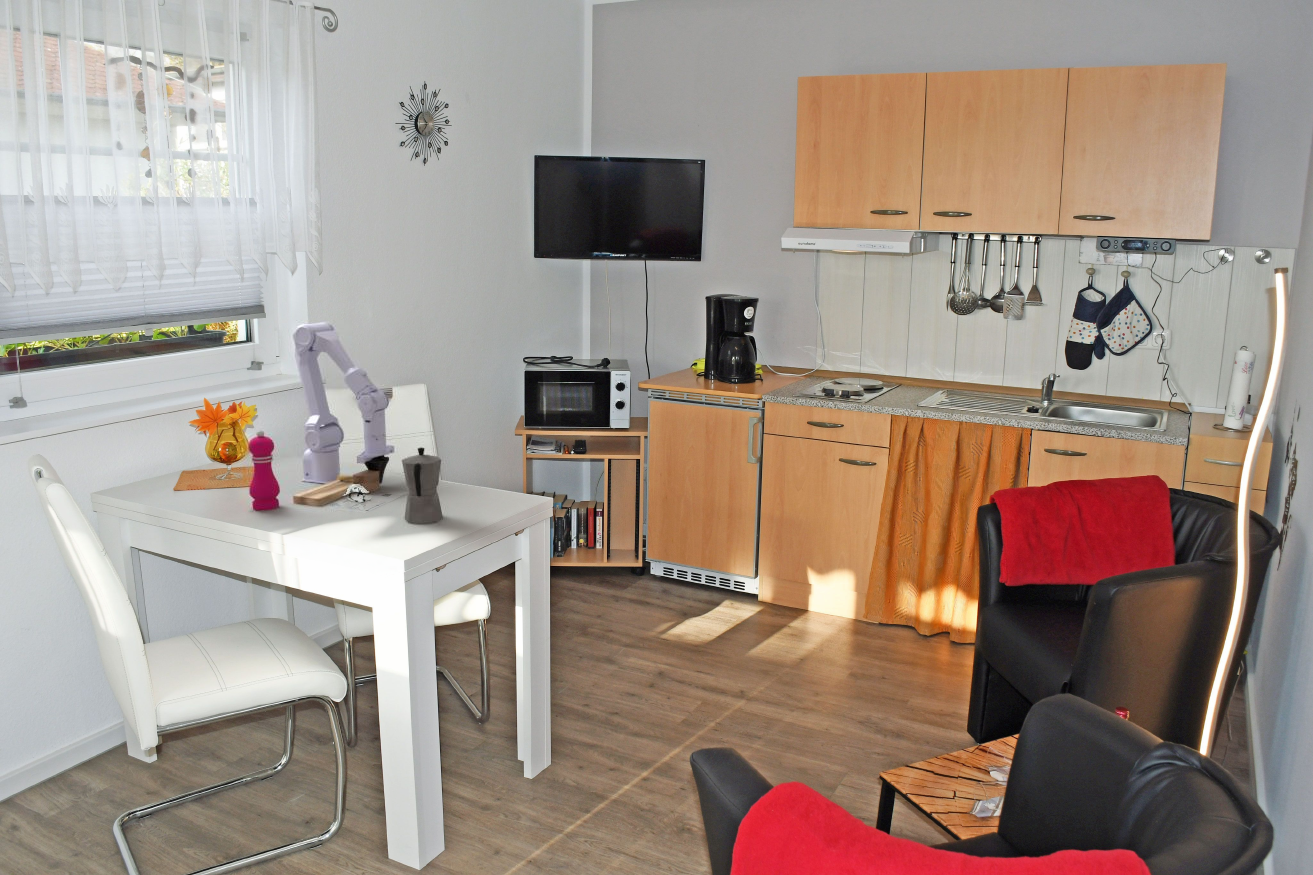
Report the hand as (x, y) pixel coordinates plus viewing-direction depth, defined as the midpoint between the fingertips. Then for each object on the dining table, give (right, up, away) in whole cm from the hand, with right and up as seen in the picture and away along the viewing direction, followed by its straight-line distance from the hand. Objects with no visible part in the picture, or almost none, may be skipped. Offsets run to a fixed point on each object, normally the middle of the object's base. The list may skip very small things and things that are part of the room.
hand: (377, 483), depth 269 cm
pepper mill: (-23, -5, -20) cm, 31 cm away
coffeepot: (+20, -8, -30) cm, 36 cm away
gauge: (-5, -2, -3) cm, 6 cm away
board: (-10, -3, -8) cm, 13 cm away
